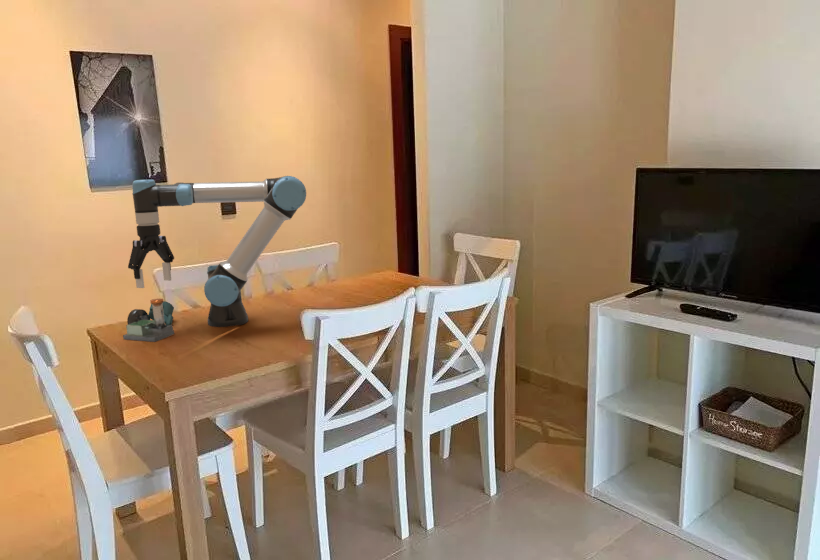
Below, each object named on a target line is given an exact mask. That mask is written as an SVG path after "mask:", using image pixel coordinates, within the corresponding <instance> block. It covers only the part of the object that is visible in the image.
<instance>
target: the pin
mask: <svg viewBox="0 0 820 560" xmlns="http://www.w3.org/2000/svg"><path fill="white" fill-rule="evenodd" d="M163 302H164V298H161V297H160V298H153V299H151V300H150V305H151V304H152V307H153V315H154V324H155V329H162V328H165V325H166V323H165V322H164V313H163V304H162V303H163Z"/></svg>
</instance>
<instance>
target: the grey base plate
mask: <svg viewBox="0 0 820 560" xmlns="http://www.w3.org/2000/svg"><path fill="white" fill-rule="evenodd" d="M125 326H126V334H123V335H122V336H123V340H127V341H128V340H131V341H141V342H150V343H151V342H152V343H156V342H159V341H160V340H161V341H162V340H163V339H165V338H168V337H171V336H173V335H175V330H174V329H173V326H174V325H173V324H171V325H166V324H165V328H162V329H155V324H154V320H152V319H150V320H140V321H137V322H134V323H131V324H128V323H127V324H126V325H125Z"/></svg>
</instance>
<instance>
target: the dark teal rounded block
mask: <svg viewBox="0 0 820 560" xmlns="http://www.w3.org/2000/svg"><path fill="white" fill-rule="evenodd" d="M162 304H163V313H164V322H165V325H173V320H174V316H173V314H174V309H175V307H174V305H173V304H171V303H170V302H168V301H166V300H165V301H164V302H163V303H162ZM147 314H148V317H149V320H154V315H153V307H152V304H151V303H150V307H149V311H148V313H147Z"/></svg>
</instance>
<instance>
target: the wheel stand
mask: <svg viewBox="0 0 820 560" xmlns="http://www.w3.org/2000/svg"><path fill="white" fill-rule="evenodd" d="M148 314H149V313H148V312H147V311H146V310H144V309H143V308H141V309H140V308H139V309H138V308H135V309H132V310H131V311H130V312H129V313H128V315H127V325H128V324H131V323H134V322H137V321H140V320H149V317H148Z"/></svg>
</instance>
